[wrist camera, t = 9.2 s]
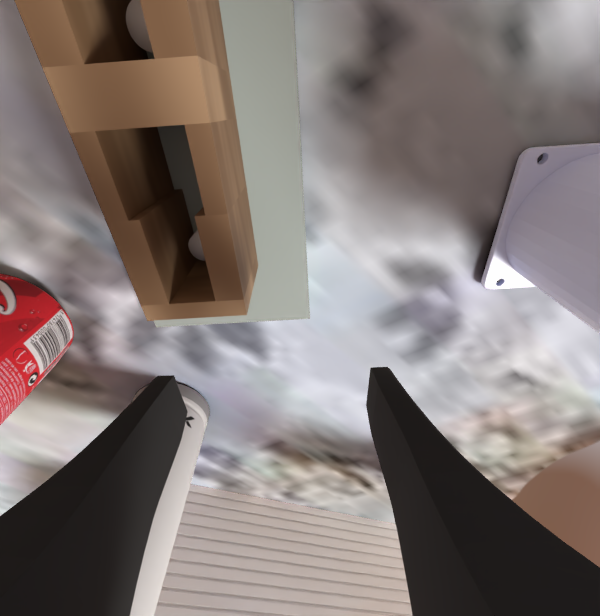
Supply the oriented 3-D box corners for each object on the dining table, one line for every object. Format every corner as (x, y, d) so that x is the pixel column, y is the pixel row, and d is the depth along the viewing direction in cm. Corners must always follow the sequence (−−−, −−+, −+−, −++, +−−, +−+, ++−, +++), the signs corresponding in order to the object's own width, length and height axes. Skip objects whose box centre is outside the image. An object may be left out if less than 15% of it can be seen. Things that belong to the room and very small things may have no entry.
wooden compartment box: (182, -245, 9) (77, -573, 4) (258, 265, 17) (246, 315, 13) (31, -230, 9) (-209, -538, 5) (182, 270, 18) (147, 320, 13)
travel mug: (195, 373, 24) (-38, 998, 7) (219, 425, 27) (101, 920, 11) (119, 381, 24) (-272, 993, 7) (152, 431, 28) (-62, 919, 11)
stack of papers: (127, 515, 37) (74, 644, 28) (139, 471, 32) (78, 614, 23) (355, 552, 45) (371, 664, 36) (396, 521, 39) (426, 644, 30)
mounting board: (281, -220, 10) (275, -348, 7) (309, 308, 21) (311, 338, 18) (-28, -191, 10) (-150, -303, 7) (163, 316, 21) (143, 347, 18)
